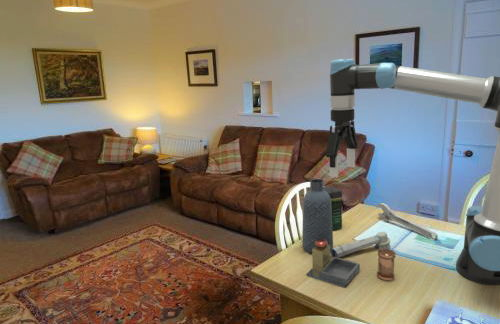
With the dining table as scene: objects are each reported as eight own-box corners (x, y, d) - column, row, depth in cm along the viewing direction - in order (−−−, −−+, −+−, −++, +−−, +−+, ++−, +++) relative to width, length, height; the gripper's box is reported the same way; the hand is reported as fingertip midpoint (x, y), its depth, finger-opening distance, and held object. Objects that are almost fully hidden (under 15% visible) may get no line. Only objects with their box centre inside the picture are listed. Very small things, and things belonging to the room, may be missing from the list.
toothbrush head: (329, 246, 139) (383, 226, 146) (331, 261, 141) (385, 241, 148) (336, 252, 135) (392, 231, 141) (338, 267, 136) (393, 246, 143)
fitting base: (360, 270, 128) (360, 242, 126) (345, 288, 118) (345, 258, 116) (323, 259, 137) (322, 233, 134) (306, 275, 127) (306, 247, 124)
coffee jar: (345, 228, 162) (345, 189, 158) (329, 232, 160) (329, 192, 156) (333, 221, 171) (333, 183, 167) (318, 224, 169) (318, 186, 164)
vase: (339, 251, 143) (339, 182, 136) (312, 258, 139) (311, 187, 132) (322, 238, 154) (321, 174, 147) (297, 245, 150) (295, 179, 143)
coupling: (396, 275, 124) (397, 251, 122) (391, 283, 120) (392, 258, 118) (380, 270, 127) (380, 247, 125) (374, 278, 123) (375, 254, 121)
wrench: (433, 247, 148) (374, 217, 172) (436, 245, 149) (377, 216, 173) (437, 229, 145) (376, 201, 169) (439, 228, 146) (379, 200, 170)
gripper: (347, 104, 130) (347, 162, 134) (313, 112, 111) (315, 179, 116) (367, 104, 125) (367, 164, 130) (336, 113, 106) (337, 182, 111)
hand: (342, 171), depth 123 cm, fingers open, 13 cm apart
